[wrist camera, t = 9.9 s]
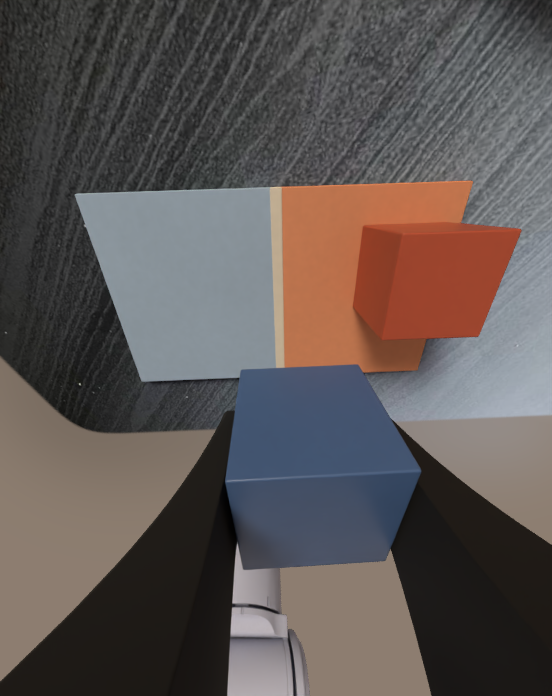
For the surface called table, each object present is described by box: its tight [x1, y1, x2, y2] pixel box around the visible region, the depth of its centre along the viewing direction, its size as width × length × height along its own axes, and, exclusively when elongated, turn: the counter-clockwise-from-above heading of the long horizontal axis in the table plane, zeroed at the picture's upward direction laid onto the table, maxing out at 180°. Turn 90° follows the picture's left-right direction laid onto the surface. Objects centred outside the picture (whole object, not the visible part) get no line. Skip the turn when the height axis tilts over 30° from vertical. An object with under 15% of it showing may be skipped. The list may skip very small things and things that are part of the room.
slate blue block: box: [225, 364, 421, 570], centre depth 9 cm, size 4×4×4 cm
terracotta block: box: [353, 222, 521, 341], centre depth 12 cm, size 4×4×4 cm
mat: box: [75, 181, 473, 382], centre depth 15 cm, size 19×11×1 cm, turn 92°
